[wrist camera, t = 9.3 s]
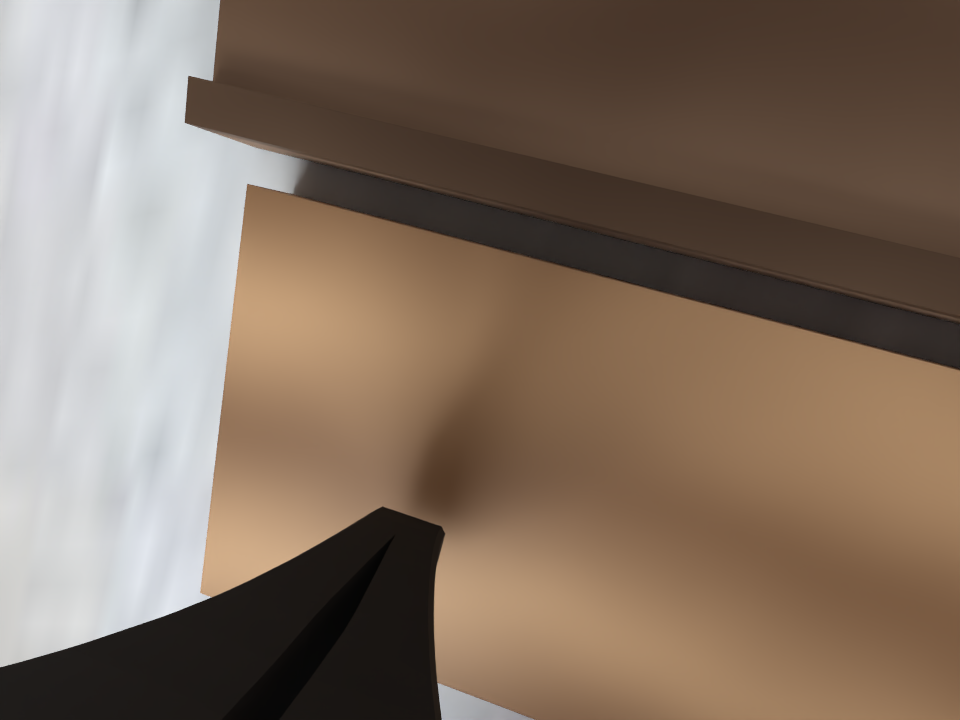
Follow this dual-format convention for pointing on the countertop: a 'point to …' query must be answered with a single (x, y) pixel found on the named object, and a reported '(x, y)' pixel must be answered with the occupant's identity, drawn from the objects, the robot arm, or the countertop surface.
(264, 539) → the teak plank
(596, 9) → the walnut board
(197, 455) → the countertop surface
